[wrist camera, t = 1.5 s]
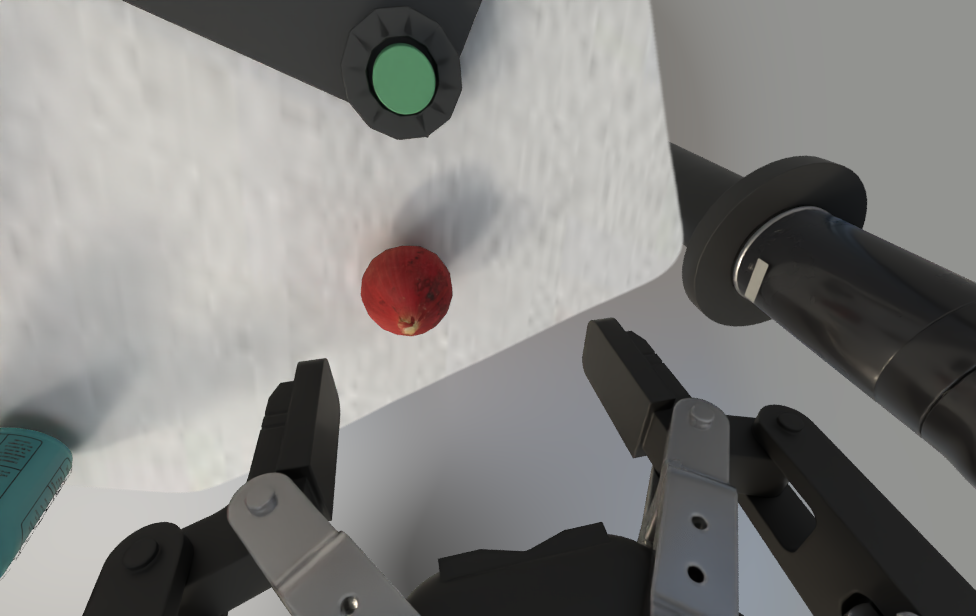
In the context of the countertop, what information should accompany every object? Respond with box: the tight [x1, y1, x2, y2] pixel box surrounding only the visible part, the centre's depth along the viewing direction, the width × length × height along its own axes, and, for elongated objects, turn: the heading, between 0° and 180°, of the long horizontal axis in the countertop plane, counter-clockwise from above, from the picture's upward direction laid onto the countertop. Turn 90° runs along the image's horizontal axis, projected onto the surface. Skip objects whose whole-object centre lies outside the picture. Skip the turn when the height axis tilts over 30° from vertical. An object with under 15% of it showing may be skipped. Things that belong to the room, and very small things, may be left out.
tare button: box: [373, 43, 435, 114], centre depth 21 cm, size 3×3×2 cm
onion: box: [361, 246, 452, 336], centre depth 28 cm, size 6×6×8 cm
